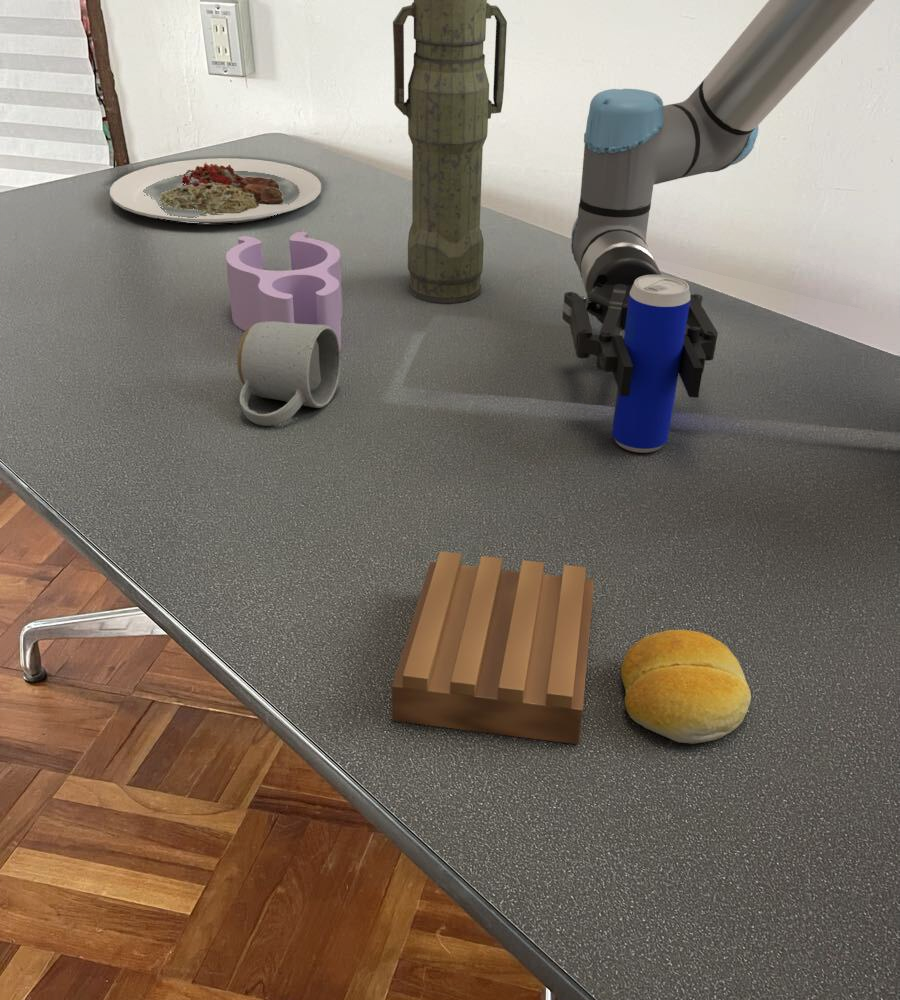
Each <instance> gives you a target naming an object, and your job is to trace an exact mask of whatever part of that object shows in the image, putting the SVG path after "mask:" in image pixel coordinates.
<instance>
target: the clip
mask: <svg viewBox="0 0 900 1000" xmlns="http://www.w3.org/2000/svg"><path fill="white" fill-rule="evenodd" d="M308 233H309V232H307V231H296V232H295V233H294V234H292V235H290V237H289V240H288V241H289V253H290V254H289V255H290V270H269V269H265V267H264V265H265V264H264V255H263V253H264V252H263V243H262V240H260V239H259V238H256V237H253V236H248V235H241V236H238V237H237V244H236V245H235V246H233V247H232V248H230V249H229V250H228V251H227V253H226V255H225V263H226V273H227V281H228V282H227V283H228V291H229V301H230V310H231V319H232V322H233V325H235V326H236V327H237V328H238V329H239V330H242V331H244V332H245V331H246V330H247V329H248V328H249V327H250V326H251V325H253V324H255V323H259V322H285V323H297V324H314V325H326V326H329V327H331V328H332V329H333V330H334V332H335V333H336V335H337V337H338V342H339V346H340V352H341V350H342V348H343V345H342V344H343V341H342V319H343V316H344V315H343V314H344V313H343V312H344V311H343V292H342V291H343V290H342V266H341V265H342V263H341V262H342V261H341V251H340V250H339V248H338V247H336V246H335V245H333V244H331V243H329V242H327V241H324V240H320V239H316V238H312V237H309V235H308Z"/></svg>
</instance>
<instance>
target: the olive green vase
mask: <svg viewBox="0 0 900 1000" xmlns="http://www.w3.org/2000/svg"><path fill="white" fill-rule="evenodd" d="M408 17H412V18H413V39H414V40H415V51H414V53H413V66H412V70H411V73H410V77H409V79H408V84H407V99H406V100H405V23H406V21H407V19H408ZM492 17H494V19H495V42H494V43H495V44H494V45H495V46H494V63H493V64H494V67H493V71H494V72H493V90H492V91H493V92H492V93H493V95H492V98H493V99H492V100H493V102H492V101H491V100H490V82H489V77H488V74H487V71H486V70H487V69H486V67H485V65H486V63H485V62H486V60H485V59H486V56H485V55H486V54H484V42H486V34H487V33H486V32H487V19H491V20H492ZM507 29H508V21H507V20H506V17H505V16H504V14H503V13H502V11H501V9H500V8H499V7H498V6H497V5H494V4H493V5H491V4H490V3H489V2H488V0H413V2H412V3H411V4H410V5H407V6H403V7H401V9H400V10H399V12H398V13H397V15H396V16H395V18H394V19H393V21H392V37H393V39H392V40H393V66H394V67H393V70H394V71H393V75H394V77H393V78H394V79H393V81H394V82H393V83H394V84H393V86H394V87H393V88H394V90H393V91H394V92H393V93H394V99H393V100H394V101H393V102H394V103H393V104H394V105H395V107H396V108H397V109H398V110H399V112H401V114H403V116H406V117H407V135H408V137H409V139H410V143H411V147H412V150H411V151H412V158H411V159H412V165H411V166H412V170H411V171H412V172H411V173H412V174H411V175H412V177H411V179H412V180H411V181H412V182H411V183H412V187H411V189H412V191H411V192H412V195H411V196H412V197H411V198H412V199H411V201H412V203H411V205H412V206H411V207H412V213H411V214H412V217H411V218H412V222H411V225H410V228H409V231H408V240H407V270H408V272H409V285H408V290H410V291H409V293H410V294H411V293H412V294H413V295H415V296H416V297H418V298H421V299H423V300H422V301H424V300H426V301H425V302H428V301H430V302H429V303H433V302H437V303H436V304H446V303H449V304H459V303H458V302H460V303H464V301H465V302H468V301H467V300H469V301H471V300H473V299H472V298H474V297H476V296H477V295H478V294H479V293H480V294H481V291H482V289H481V287H482V284H481V276H482V274H483V270H484V246H485V245H484V237H483V233H482V229H481V202H482V180H483V179H482V175H483V151H484V150H483V149H484V148H483V147H484V145H485V142H486V140H487V137H488V133H489V132H488V130H489V129H488V128H489V120H490V119H491V118H492V114H500V113H502V110H503V109H502V108H503V101H504V94H505V93H504V91H505V74H506V73H505V72H506V54H507V53H506V52H507V50H506V49H507V31H508V30H507ZM412 294H411V295H412ZM480 294H479V295H480ZM413 295H412V296H413ZM479 295H478V296H479ZM415 296H414V297H415ZM478 296H477V297H478ZM416 297H415V298H416ZM477 297H476V298H477ZM418 298H417V299H418ZM421 299H420V300H421ZM470 299H471V300H470ZM474 299H475V298H474Z"/></svg>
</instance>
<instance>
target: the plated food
mask: <svg viewBox="0 0 900 1000" xmlns="http://www.w3.org/2000/svg"><path fill="white" fill-rule="evenodd" d="M234 171H248V172H257V173H258V172H259V173H265V174H270V175H275V176H278V177H281V178H285V179H287V180H289V181H291V182H293V183H294V184H295V185H297V187H298V189H299V192H300V193H299V196H298V198H297V199H296V200H295V201H294V202H292V203H290V204H289V205H288V204H285V203H282V202H283V201H284V199H283V197H282V194H283V193H281V191H280V189H278V188H279V187H280V186H279V184H278V183H277V182H276V181H275V180H274V179H270V178H263V177H250V176H249V177H244V178H243V177H241V176H239V175H238V174H235V172H234ZM189 173H191V174H190V176H188V175H187V174H189ZM179 175H183V177H182V183H184V184H185V183H186V185H184V184H183V185H182V187H178V188H174V189H172V190H169V191H165V192H162V193H161V195H160V200H159V201H161V202H162V203H161V206H168V205H170V206H172V207H173V208H174V209H176V208H177V209H180V208H182V210H187V209H193V208H194V209H196V210H197V209H198V210H201V211H202V213H201V214H199V215H198V216H199V217H197V216H196V217H197V218H195V217H194V218H187V217H181V216H180V217H178V216H173V215H172V216H170V215H169V214H168V215H167V213H165V212H164V211H163V210H162V209H161V208H160V207H161V206H159V205H160V204H159V205H158V203H157V202H156V200H155V199H154V198H153V197H152V198H153V199H154V200H153V199H151V197H150V195H149V194H148V195H149V196H147V195H146V193H144V192H143V190H144V189H146V187H148V186H150V185H152V184H154V183H156V182H158V181H161V180H163V179H167V178H171V177H174V176H179ZM186 175H187V176H186ZM321 191H322V183H321V181H320V180H319V178H318V177H317V176H315V174H313V173H312V172H310V171H308V170H305V169H302V168H300V167H297V166H293V165H291V164H287V163H282V162H277V161H270V160H262V159H251V158H237V157H236V158H235V157H234V158H233V157H231V158H228V157H227V158H225V157H222V158H221V157H219V158H198V159H188V160H179V161H172V162H171V161H170V162H165V163H160V164H157V165H152V166H147V167H144V168H141V169H138V170H135V171H132V172H130V173H127V174H125V175H123V176H121V177H119V178H118V179H117V180H116V181H114V182H113V183H112V185H111V187H110V188H109V196H110V199H111V200H112V202H113V203H114V204H115V205H117V206H118V207H120V208H122V210H125V211H128V212H130V213H133V214H135V215H136V214H137V215H140V216H145V217H148V218H153V219H158V218H159V220H163V219H166V220H165V221H167V220H175V221H189V222H199V223H233V224H241V223H248V222H249V221H250V222H254V221H261V220H265V219H269V218H271V216H272V217H275V216H278V215H280V214H284V213H288V212H291V211H294V210H297V209H299V208H301V207H304V206H307V205H308V204H310V203H311V202H313V201H314V200H316V199H317V197H318V196H319V195H320V194H321V193H322V192H321ZM144 195H145V196H144ZM284 202H285V201H284ZM162 208H163V207H162ZM165 211H166V210H165ZM206 213H207V214H206ZM208 213H209V214H208ZM277 214H278V215H277ZM200 215H201V216H200ZM274 215H275V216H274Z"/></svg>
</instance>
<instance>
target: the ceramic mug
mask: <svg viewBox="0 0 900 1000" xmlns="http://www.w3.org/2000/svg"><path fill="white" fill-rule="evenodd" d="M341 360H342V359H341V351H340V346H339V342H338V337H337V335H336V333H335V332H334V330H333V329H332V328H331V327H329V326H326V325H314V324H297V323H285V322H259V323H255V324H253V325H251V326H250V327H249V328H248V329H247V330H246V331H244V332H243V335H242V337H241V339H240V341H239V345H238V348H237V355H236V369H237V374H238V378H239V380H240V382H241V384H242V388H241V389H240V393H239V406H240V408H241V410H242V412H243V414H244V416H245V417H246V419H248V420H249V421H250V422H252V423H254V424H255V425H257V426H263V427H273V426H276V425H277V426H278V425H280V424H283V423H285V422H287V421H289V420H290V419H291V418H292V417H294V416H295V414H296V413H297V412H299V410H300V409H301V407H302V406H304V407H310V408H316V409H321V408H323V407H325V406H327V405H328V404H329V403H330V402H331V401H332V399H333V397H334V395H335V394H336V391H337V388H338V384H339V380H340V376H341V366H342V363H341ZM252 394H253V395H255V396H258V397H260V398H263V399H270V400H276V401H281V402H284V403H285V402H286V404H284V405H283V406H282V407H280V408H279V409H277V410H275V411H271V412H268V413H257V412H256V411H255V410H253V409H250V407H249V401H250V398H251V396H252Z"/></svg>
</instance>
